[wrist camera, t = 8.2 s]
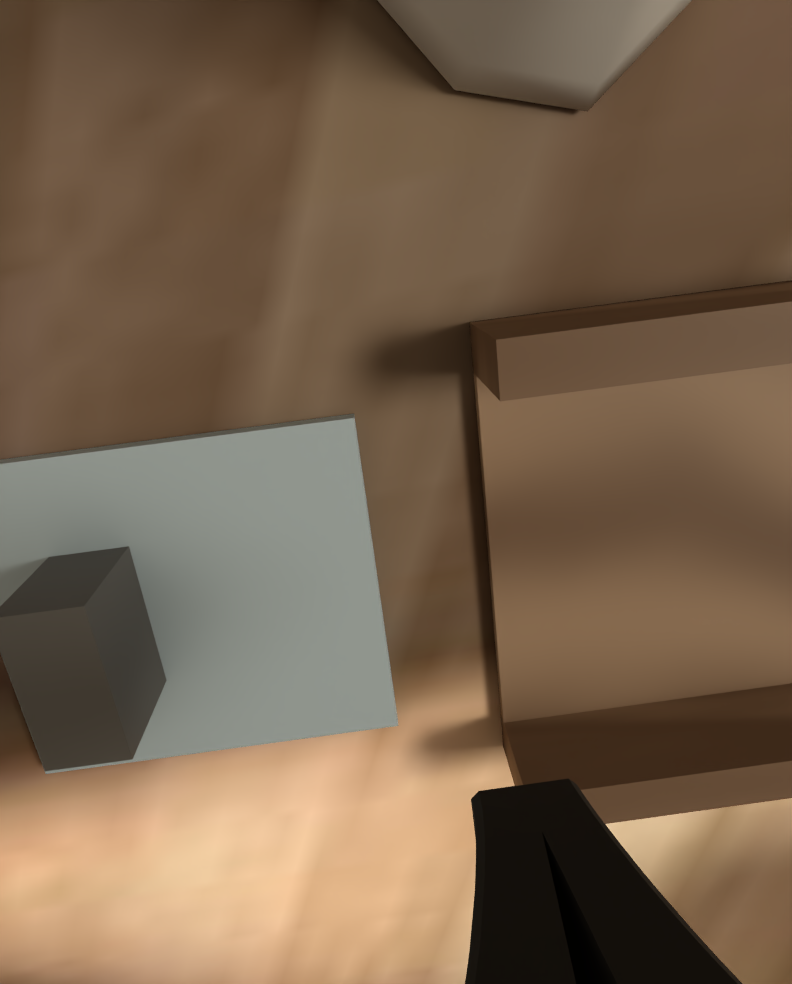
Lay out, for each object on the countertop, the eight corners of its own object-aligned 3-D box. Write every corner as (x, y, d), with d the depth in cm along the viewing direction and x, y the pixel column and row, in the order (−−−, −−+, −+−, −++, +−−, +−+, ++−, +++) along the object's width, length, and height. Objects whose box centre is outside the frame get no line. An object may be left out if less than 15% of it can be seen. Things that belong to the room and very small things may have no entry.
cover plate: (396, 703, 20) (405, 807, 16) (60, 749, 20) (-8, 865, 16) (353, 408, 17) (354, 454, 13) (-44, 459, 17) (-157, 521, 13)
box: (939, 686, 20) (1040, 763, 17) (503, 746, 20) (529, 834, 17) (1020, 251, 16) (1173, 251, 13) (468, 322, 16) (495, 340, 13)
